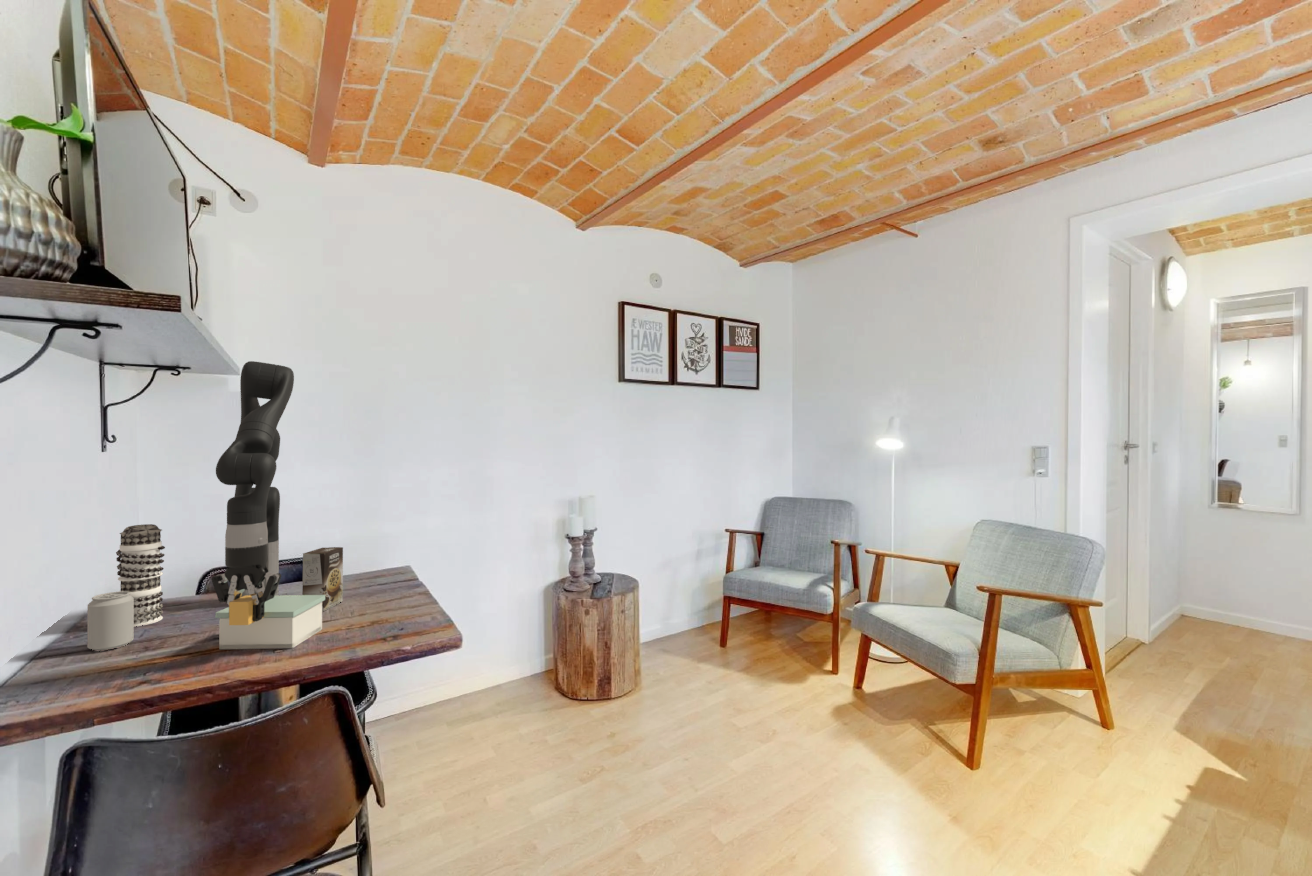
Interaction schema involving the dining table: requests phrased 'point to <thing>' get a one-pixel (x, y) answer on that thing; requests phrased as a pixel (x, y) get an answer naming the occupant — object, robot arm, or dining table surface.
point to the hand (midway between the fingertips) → (246, 620)
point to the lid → (268, 607)
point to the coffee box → (324, 575)
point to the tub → (271, 631)
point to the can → (110, 620)
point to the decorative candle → (142, 571)
